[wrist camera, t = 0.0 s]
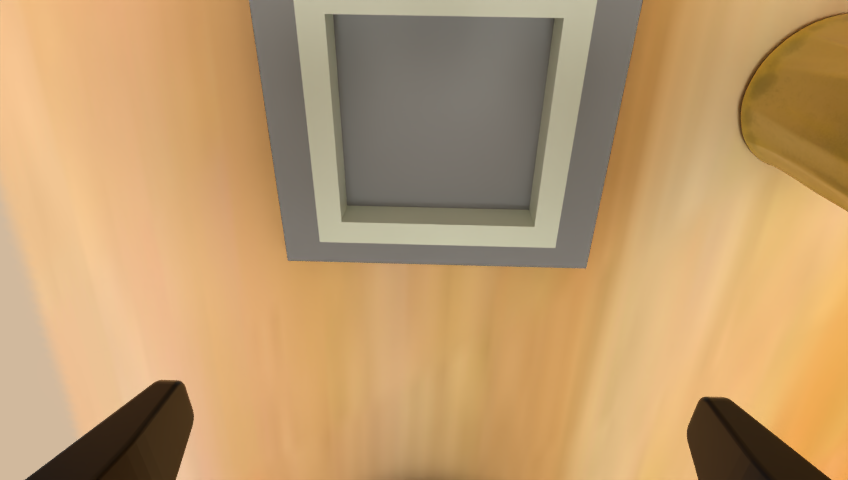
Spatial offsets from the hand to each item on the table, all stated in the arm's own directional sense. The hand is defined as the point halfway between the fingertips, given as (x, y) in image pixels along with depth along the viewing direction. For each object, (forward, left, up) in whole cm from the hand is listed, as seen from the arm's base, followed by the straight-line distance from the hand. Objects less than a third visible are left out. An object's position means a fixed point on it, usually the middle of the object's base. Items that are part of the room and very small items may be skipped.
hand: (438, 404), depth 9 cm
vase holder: (+1, 0, -15) cm, 15 cm away
